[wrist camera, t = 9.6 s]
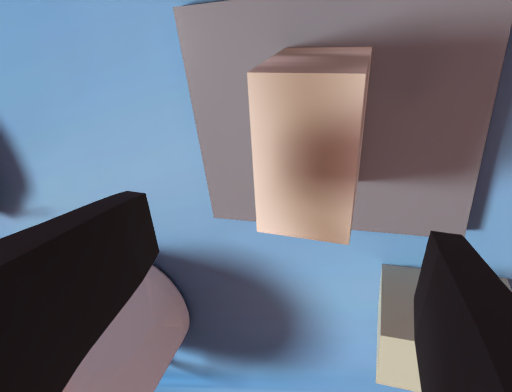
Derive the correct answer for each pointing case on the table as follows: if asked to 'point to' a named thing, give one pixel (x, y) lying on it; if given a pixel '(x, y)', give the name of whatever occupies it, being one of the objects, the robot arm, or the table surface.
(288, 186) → the tan block
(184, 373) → the table surface
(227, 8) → the slate plate
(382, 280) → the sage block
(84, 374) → the mug
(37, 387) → the robot arm
